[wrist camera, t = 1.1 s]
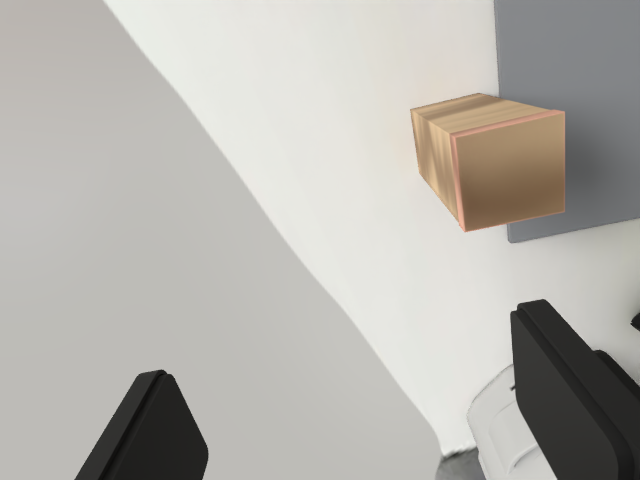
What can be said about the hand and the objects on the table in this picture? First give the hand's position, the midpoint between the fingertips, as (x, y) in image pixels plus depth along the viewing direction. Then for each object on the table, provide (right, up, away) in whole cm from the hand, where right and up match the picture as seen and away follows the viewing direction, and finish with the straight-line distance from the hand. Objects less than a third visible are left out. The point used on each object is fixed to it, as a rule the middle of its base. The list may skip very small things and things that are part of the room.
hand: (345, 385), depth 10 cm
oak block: (+9, +12, +21) cm, 26 cm away
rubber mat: (+19, +14, +20) cm, 31 cm away
